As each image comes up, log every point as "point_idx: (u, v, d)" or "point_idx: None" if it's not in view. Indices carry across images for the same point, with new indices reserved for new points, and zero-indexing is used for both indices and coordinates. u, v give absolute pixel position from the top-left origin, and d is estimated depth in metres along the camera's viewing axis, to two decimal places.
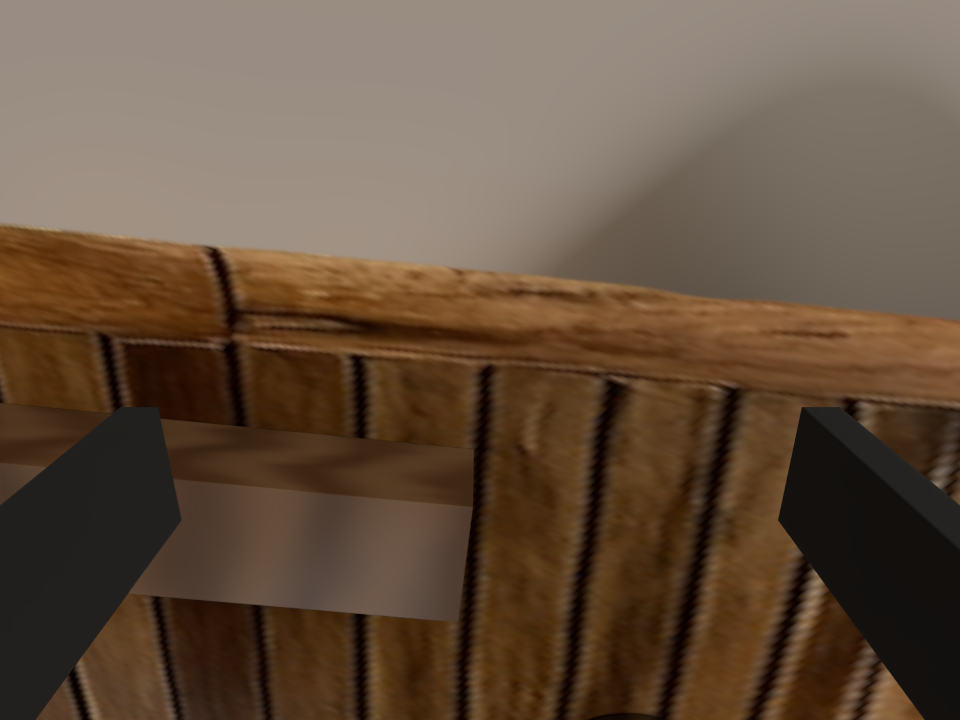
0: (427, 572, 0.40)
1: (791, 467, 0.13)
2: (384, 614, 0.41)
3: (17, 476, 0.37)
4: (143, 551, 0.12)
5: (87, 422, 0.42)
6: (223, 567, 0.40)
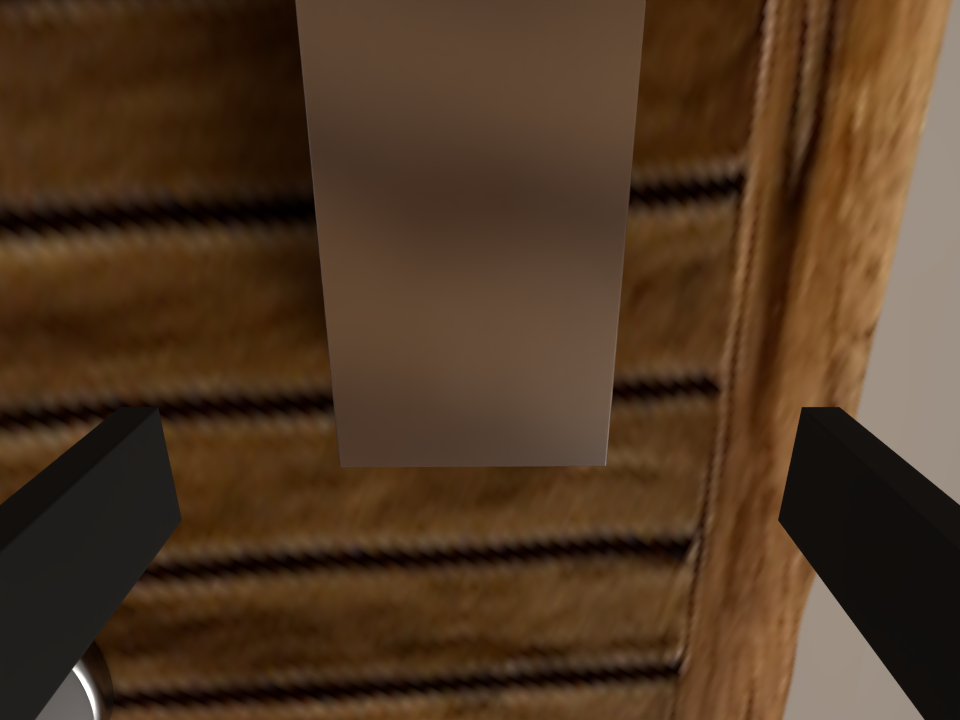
0: (451, 404, 0.20)
1: (791, 466, 0.13)
2: (331, 331, 0.19)
3: None
4: (143, 551, 0.12)
5: None
6: None
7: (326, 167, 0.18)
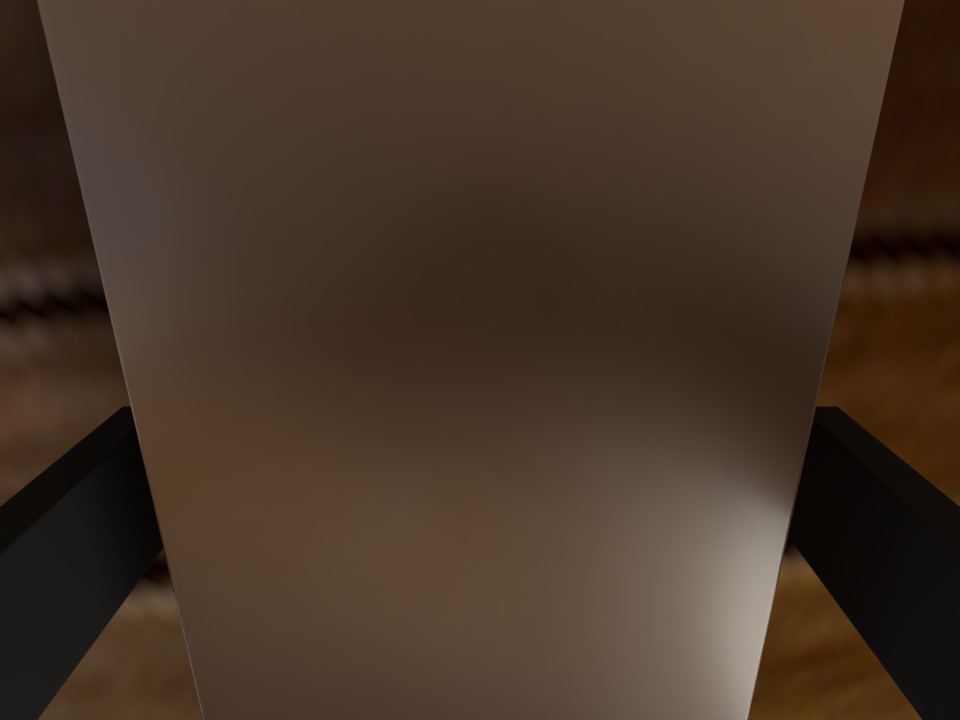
0: (431, 689, 0.10)
1: None
2: (175, 565, 0.09)
3: None
4: (146, 550, 0.12)
5: None
6: None
7: (125, 230, 0.07)
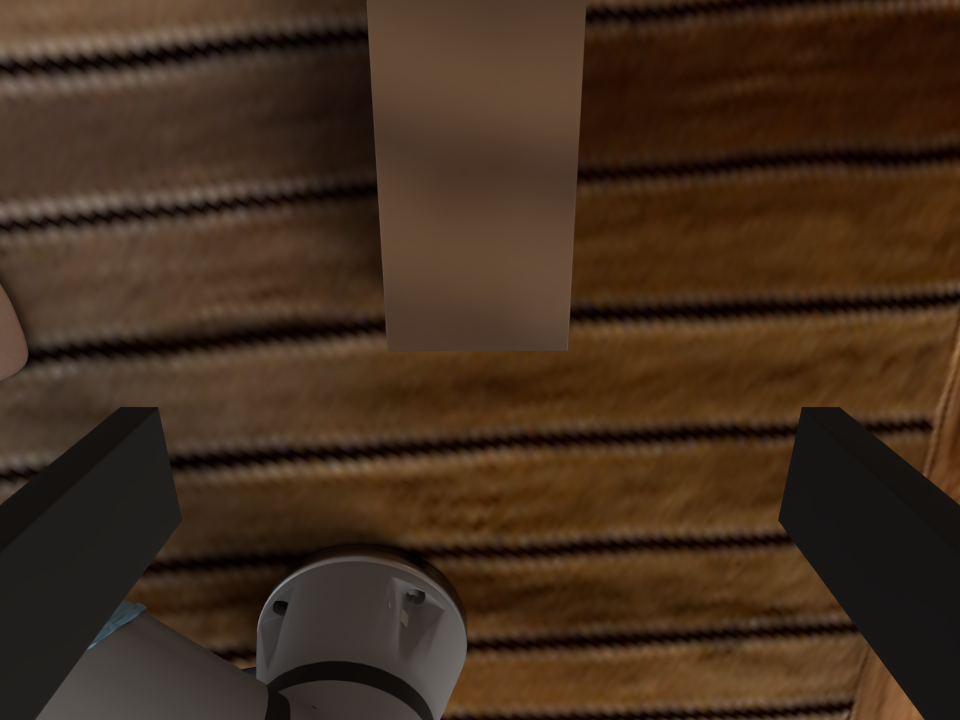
0: (463, 305, 0.31)
1: (791, 467, 0.13)
2: (384, 255, 0.30)
3: None
4: (143, 551, 0.12)
5: None
6: (435, 6, 0.26)
7: (384, 146, 0.28)
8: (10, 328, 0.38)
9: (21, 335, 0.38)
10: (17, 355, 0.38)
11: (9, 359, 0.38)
